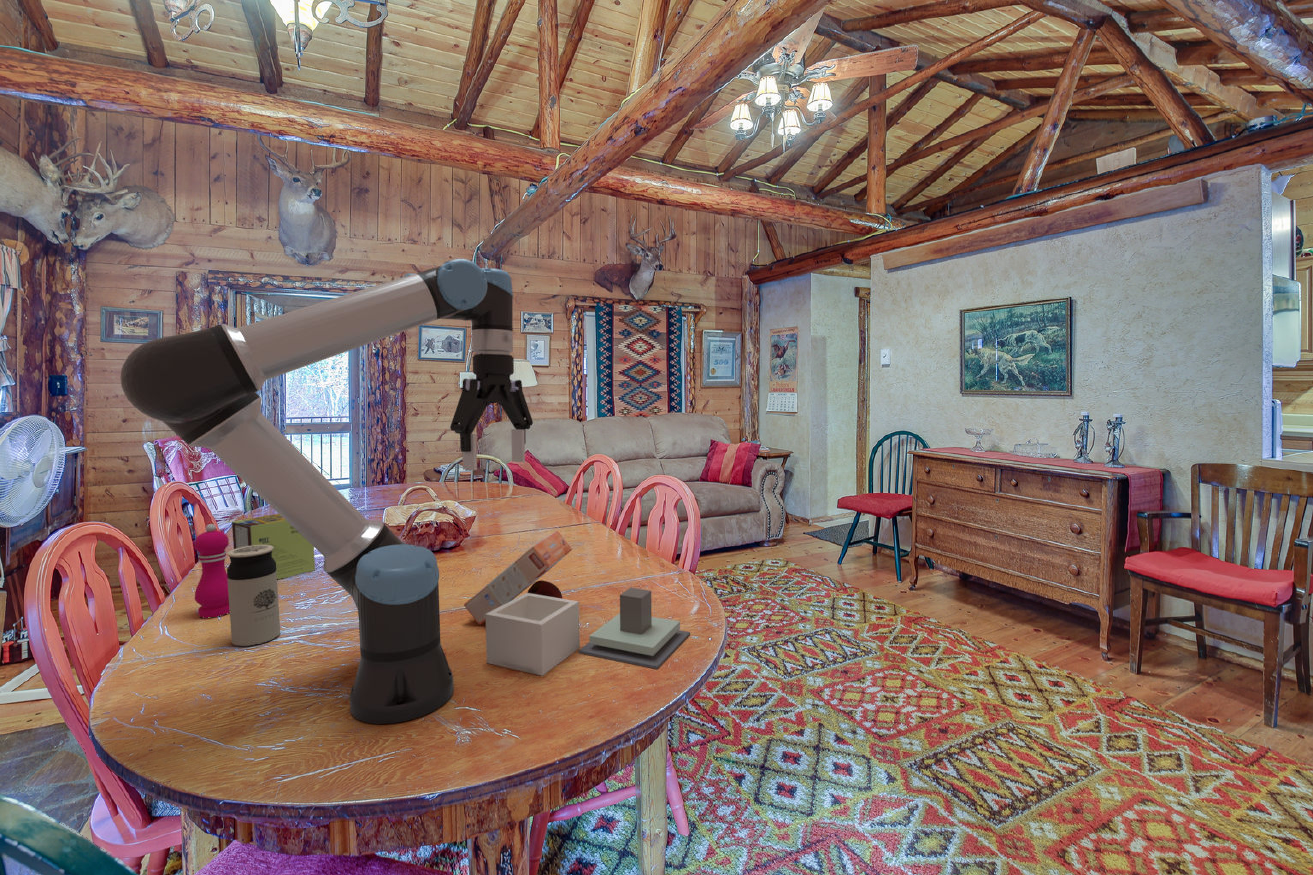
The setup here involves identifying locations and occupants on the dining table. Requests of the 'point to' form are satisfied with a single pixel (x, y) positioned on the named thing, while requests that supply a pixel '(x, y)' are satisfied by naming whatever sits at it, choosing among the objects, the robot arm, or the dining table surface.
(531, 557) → the cracker box
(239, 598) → the travel mug
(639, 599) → the lid
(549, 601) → the storage box
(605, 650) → the mat
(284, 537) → the protein box
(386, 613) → the robot arm
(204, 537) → the pepper mill
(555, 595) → the apple
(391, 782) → the dining table surface
